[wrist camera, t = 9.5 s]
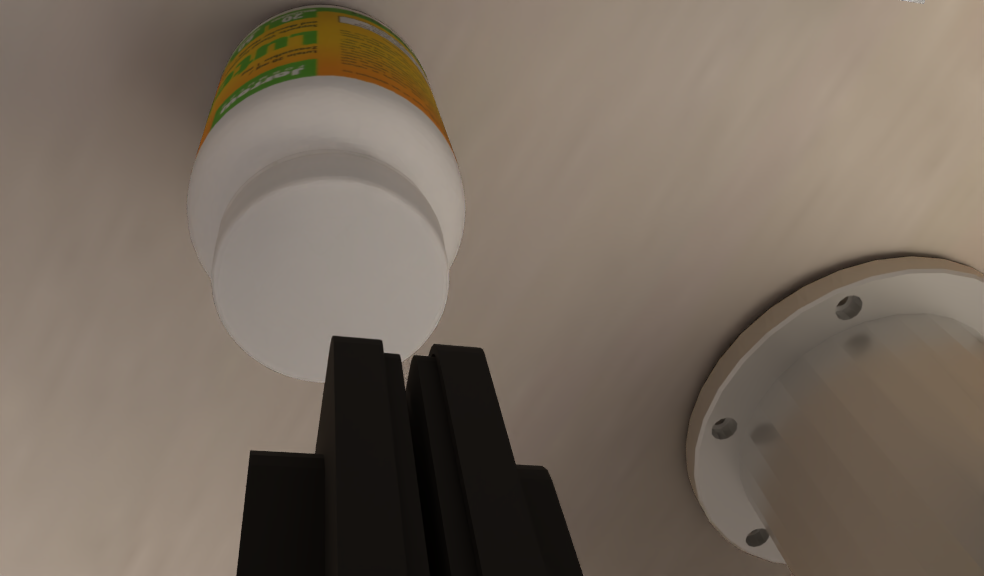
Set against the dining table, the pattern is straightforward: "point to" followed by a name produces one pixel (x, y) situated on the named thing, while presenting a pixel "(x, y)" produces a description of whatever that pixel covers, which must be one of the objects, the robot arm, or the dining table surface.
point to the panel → (917, 0)
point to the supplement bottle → (325, 192)
